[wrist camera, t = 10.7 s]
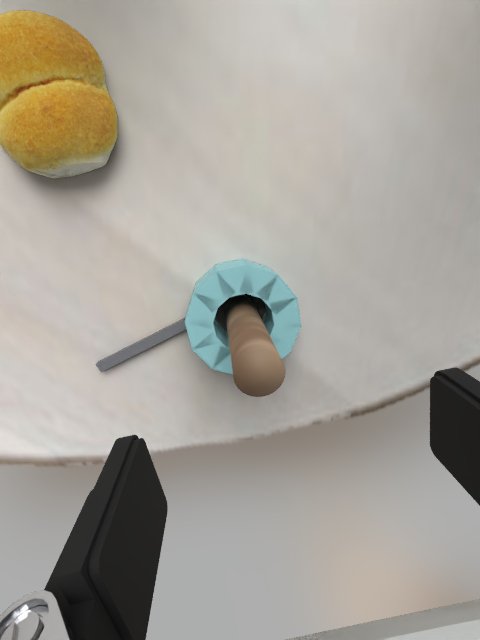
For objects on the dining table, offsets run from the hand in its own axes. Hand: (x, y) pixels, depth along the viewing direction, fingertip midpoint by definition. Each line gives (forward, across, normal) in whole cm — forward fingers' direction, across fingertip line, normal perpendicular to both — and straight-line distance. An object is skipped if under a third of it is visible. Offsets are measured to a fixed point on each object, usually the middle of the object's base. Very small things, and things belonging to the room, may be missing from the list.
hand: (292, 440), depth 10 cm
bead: (+18, +1, +1) cm, 18 cm away
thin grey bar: (+17, +10, +2) cm, 20 cm away
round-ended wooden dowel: (+18, +1, +1) cm, 18 cm away
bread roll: (+18, +10, -16) cm, 26 cm away
